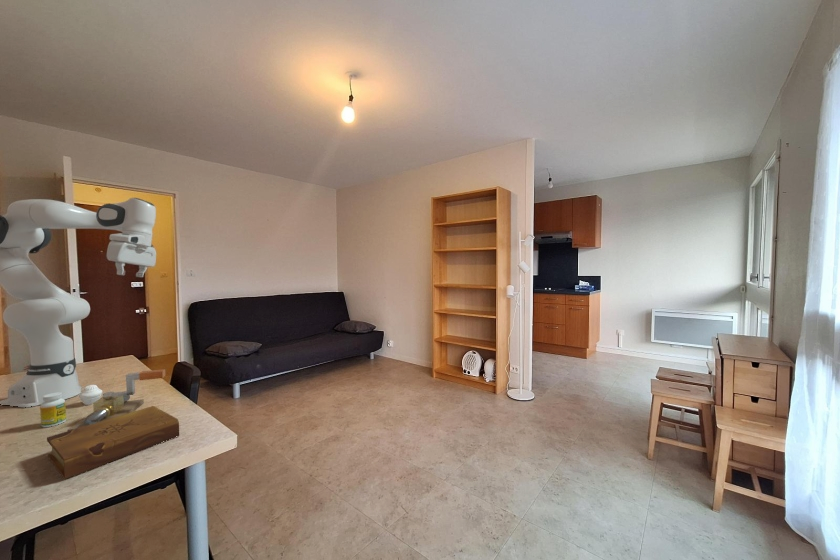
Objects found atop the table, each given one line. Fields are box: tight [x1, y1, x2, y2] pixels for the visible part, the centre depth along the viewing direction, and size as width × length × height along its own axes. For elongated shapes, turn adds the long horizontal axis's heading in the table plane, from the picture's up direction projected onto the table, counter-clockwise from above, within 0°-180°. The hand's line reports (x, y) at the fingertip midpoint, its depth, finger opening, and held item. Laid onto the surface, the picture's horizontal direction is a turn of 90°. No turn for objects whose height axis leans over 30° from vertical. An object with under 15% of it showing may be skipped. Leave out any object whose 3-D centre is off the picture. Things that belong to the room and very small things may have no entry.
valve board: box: [66, 398, 145, 432], centre depth 108 cm, size 20×11×2 cm, turn 20°
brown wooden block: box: [46, 405, 180, 480], centre depth 90 cm, size 23×19×6 cm
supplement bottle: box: [39, 392, 67, 428], centre depth 103 cm, size 5×5×10 cm
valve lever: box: [102, 368, 166, 399], centre depth 110 cm, size 17×3×7 cm, turn 110°
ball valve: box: [84, 395, 131, 426], centre depth 108 cm, size 20×5×6 cm, turn 20°
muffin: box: [78, 384, 103, 406], centre depth 119 cm, size 6×6×7 cm
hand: (130, 276), depth 122 cm, fingers open, 8 cm apart
